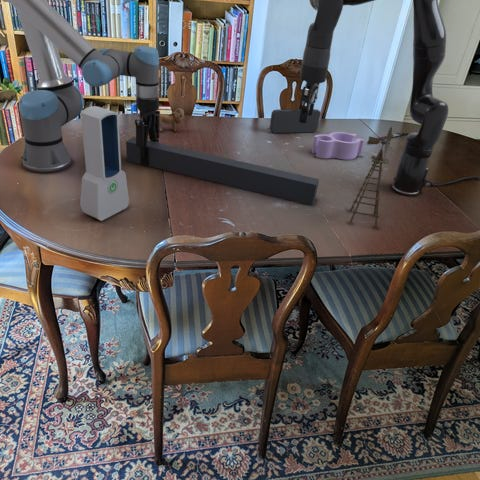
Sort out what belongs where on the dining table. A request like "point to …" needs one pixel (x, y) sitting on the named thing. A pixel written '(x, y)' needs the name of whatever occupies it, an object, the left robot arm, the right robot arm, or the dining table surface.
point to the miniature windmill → (377, 160)
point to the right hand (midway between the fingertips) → (305, 118)
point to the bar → (227, 171)
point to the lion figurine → (172, 118)
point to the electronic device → (102, 165)
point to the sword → (391, 136)
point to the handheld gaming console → (293, 121)
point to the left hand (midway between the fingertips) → (148, 161)
